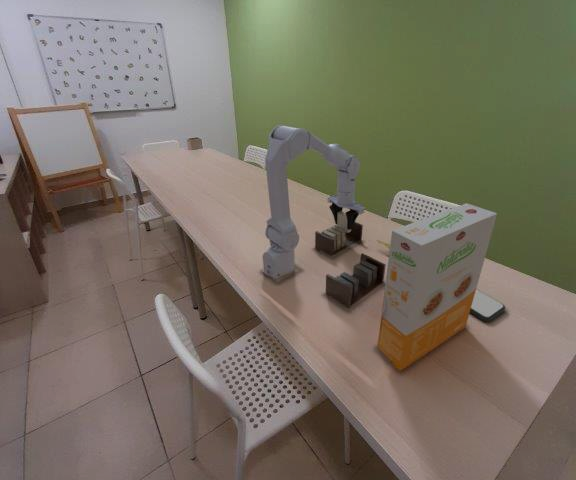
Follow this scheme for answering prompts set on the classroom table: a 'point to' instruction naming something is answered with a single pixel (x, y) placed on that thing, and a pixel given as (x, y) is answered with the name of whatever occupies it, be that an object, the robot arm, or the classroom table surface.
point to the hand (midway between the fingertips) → (344, 226)
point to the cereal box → (432, 280)
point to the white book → (342, 221)
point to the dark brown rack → (337, 239)
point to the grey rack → (356, 281)
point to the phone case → (485, 307)
